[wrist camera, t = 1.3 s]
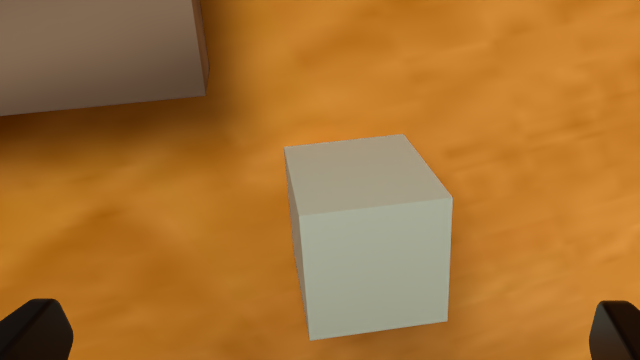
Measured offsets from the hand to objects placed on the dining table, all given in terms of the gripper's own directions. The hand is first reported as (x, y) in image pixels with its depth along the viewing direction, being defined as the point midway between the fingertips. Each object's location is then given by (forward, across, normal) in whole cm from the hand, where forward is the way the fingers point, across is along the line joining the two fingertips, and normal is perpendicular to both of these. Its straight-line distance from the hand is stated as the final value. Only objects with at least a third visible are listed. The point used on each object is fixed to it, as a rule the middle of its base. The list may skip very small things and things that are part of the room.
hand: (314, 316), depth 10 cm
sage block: (+14, +1, +7) cm, 15 cm away
